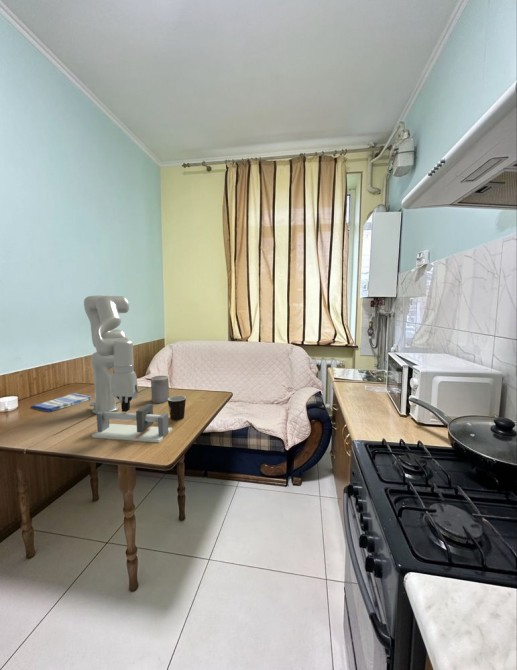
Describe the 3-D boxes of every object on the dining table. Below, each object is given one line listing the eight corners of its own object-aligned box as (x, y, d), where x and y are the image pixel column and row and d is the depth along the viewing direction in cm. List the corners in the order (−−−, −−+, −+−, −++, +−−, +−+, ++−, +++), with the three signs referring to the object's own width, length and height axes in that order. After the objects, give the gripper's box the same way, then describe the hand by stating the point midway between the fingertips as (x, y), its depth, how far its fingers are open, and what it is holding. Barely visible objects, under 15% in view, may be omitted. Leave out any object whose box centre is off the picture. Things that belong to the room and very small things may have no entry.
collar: (136, 432, 121) (136, 411, 120) (148, 423, 130) (147, 403, 129) (142, 432, 121) (141, 411, 120) (153, 423, 130) (152, 404, 129)
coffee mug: (170, 415, 148) (169, 395, 147) (187, 414, 149) (187, 395, 148) (165, 424, 137) (164, 403, 136) (183, 423, 137) (183, 403, 136)
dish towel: (92, 400, 172) (92, 395, 172) (50, 413, 151) (50, 408, 150) (73, 396, 179) (72, 391, 179) (30, 408, 158) (29, 403, 157)
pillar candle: (160, 396, 177) (159, 372, 175) (172, 399, 173) (171, 374, 171) (148, 401, 168) (146, 376, 167) (160, 404, 164) (159, 378, 162)
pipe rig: (92, 437, 123) (90, 416, 122) (110, 425, 135) (109, 406, 134) (159, 442, 119) (158, 420, 118) (171, 429, 131) (171, 410, 130)
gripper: (102, 370, 122) (104, 412, 124) (135, 372, 120) (137, 415, 122) (113, 366, 129) (115, 406, 131) (145, 368, 127) (146, 408, 129)
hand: (125, 410), depth 126 cm, fingers closed
